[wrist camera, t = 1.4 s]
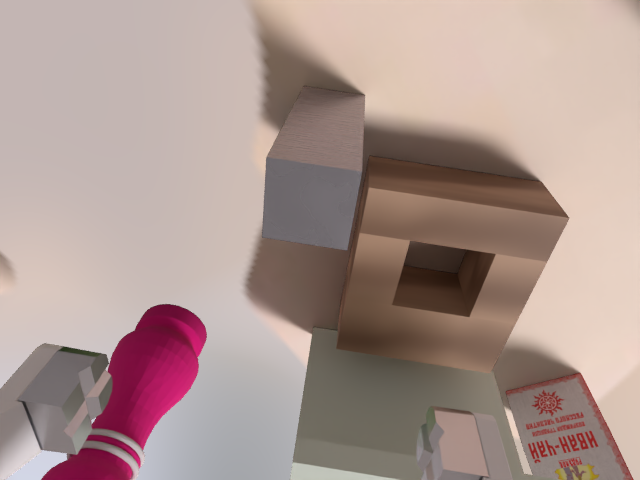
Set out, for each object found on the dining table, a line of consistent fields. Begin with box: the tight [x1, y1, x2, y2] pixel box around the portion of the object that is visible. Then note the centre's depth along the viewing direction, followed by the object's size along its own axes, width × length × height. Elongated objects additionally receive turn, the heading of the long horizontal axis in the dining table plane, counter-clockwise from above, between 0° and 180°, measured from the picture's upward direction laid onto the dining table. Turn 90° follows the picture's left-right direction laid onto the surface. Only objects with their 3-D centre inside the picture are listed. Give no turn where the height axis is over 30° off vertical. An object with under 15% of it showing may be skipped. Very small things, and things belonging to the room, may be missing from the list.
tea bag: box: [506, 373, 633, 480], centre depth 37 cm, size 4×7×10 cm, turn 120°
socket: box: [336, 156, 569, 373], centre depth 32 cm, size 14×12×5 cm
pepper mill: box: [41, 304, 207, 480], centre depth 33 cm, size 7×7×20 cm
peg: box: [262, 86, 365, 250], centre depth 24 cm, size 4×4×12 cm
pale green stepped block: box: [290, 327, 559, 480], centre depth 32 cm, size 6×16×16 cm, turn 83°
